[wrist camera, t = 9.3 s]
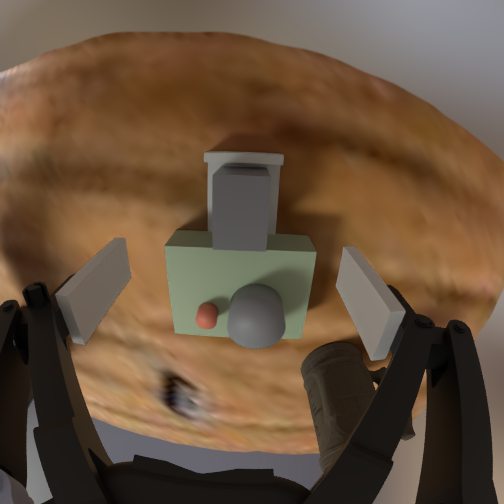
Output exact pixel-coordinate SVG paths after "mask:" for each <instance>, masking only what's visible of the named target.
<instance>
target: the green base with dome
mask: <svg viewBox="0 0 504 504" xmlns="http://www.w3.org/2000/svg"><path fill="white" fill-rule="evenodd" d="M204 162H208V231H194V230H176V231H175V232H174V234H173V235H172V236H171V238H170V239H169V240H168V242H167V243H166V244H165V246H164V247H165V258H166V268H167V277H168V286H169V294H170V302H171V309H172V316H173V323H174V329H175V333H178V334H190V335H202V336H217V337H231V339H232V340H233V341H234V342H235V343H237V344H238V345H240V346H243V347H246V348H250V349H262V348H266V347H269V346H272V345H274V344H275V343H277V342H278V341H279V340H280V339H301V338H302V333H303V328H304V323H305V318H306V312H307V307H308V302H309V296H310V290H311V285H312V279H313V273H314V267H315V260H316V254H317V252H316V250H315V248H314V246H313V244H312V242H311V240H310V238H309V236H308V235H293V234H275V233H276V221H277V207H278V194H279V179H280V165H283V162H284V155H282V154H279V153H263V152H238V151H207V152H204ZM221 166H238V167H263V168H267V169H268V172H269V174H270V176H271V184H270V200H269V216H268V232H267V247H266V252H260V251H234V250H213V240H212V175H213V174H214V173H215V172H216V171H217V170H218V169H219V168H220V167H221Z"/></svg>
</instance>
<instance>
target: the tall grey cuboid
mask: <svg viewBox="0 0 504 504" xmlns="http://www.w3.org/2000/svg"><path fill="white" fill-rule="evenodd" d="M270 184H271V176H270V174H269V172H268V169H267V168H263V167H238V166H221V167H220V168H219V169H218V170H217V171H216V172H215V173H214V174H213V175H212V240H213V250H234V251H260V252H266V247H267V232H268V216H269V200H270Z"/></svg>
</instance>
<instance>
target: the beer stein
mask: <svg viewBox="0 0 504 504" xmlns="http://www.w3.org/2000/svg"><path fill="white" fill-rule="evenodd" d="M385 371H386V367H382V368H380V369H379V370H377V371H370V370H368V369H367V367H366V366H365V364H364V363H363V360H362V354H361V352H360V350H359V349H358V348H357V347H356V346H354V345H353V344H350V343H345V342H338V343H332V344H328V345H325V346H322V347H320V348H318V349H316V350H315V351H313V352H312V353H310V354H309V355H308V356H307V357H306V359H305V360H304V362H303V364H302V367H301V374H302V377H303V379H304V388H305V390H306V391H307V395H308V399H309V404H310V409H311V414H312V418H313V422H314V426H315V431H316V435H317V441H318V446H319V451H320V459H319V464H320V466H321V468H322V471H323V473H324V472H325V471H326V469H327V468H328V467H329V465H330V464H331V462H332V461H333V460H334V458H335V457H336V455H337V454H338V453H339V451H340V450H341V448H342V447H343V445H344V444H345V442H346V441H347V439H348V438H349V436H350V434H351V433H352V431H353V430H354V428H355V426H356V425H357V423H358V422H359V420H360V418H361V416H362V415H363V413H364V411H365V410H366V408H367V406H368V404H369V402H370V401H371V399H372V397H373V395H374V393H375V391H376V390H375V387H374V385H373V382H375V383H376V384H377V385H379V384H380V382H381V380H382V378H383V375H384V373H385ZM413 436H415V432H414V430H413V427H412V412H411V414H410V417H409V419H408V422H407V424H406V427H405V429H404V432H403V434H402V436H401V439H403V440H409V439H411V438H413Z"/></svg>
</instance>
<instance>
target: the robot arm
mask: <svg viewBox="0 0 504 504" xmlns="http://www.w3.org/2000/svg"><path fill="white" fill-rule="evenodd" d="M130 279H131V272H130V266H129V260H128V253H127V246H126V239H125V238H114V239H113V240H112V241H110V242H109V243H108V244H107V245H106V246H105V247H104V248H103V249H101V250H100V251H99V252H98V253H97V254H96V255H95V256H94V257H93V258H92V259H91V260H90V261H88V262H87V263H86V264H85V265H84V266H83V267H82V268H81V269H80V270H79V271H78V272H77V273H75V274H73V275H71V276H70V277H68V278H67V279H66V280H65V281H64V283H62V284H61V285H60V287H58V288H57V289H56V290H55V291H54V292H53V293H52V295H51V296H49V293H48V290H47V287H46V285H45V283H43V282H35V283H32V284H30V285H28V286H27V287H26V288H25V289H24V290H23V292H22V293H23V296H24V299H25V301H26V304H27V306H28V308H20V306H19V304H18V302H17V301H16V300H7V301H5V302H4V303H3V304H2V305H1V306H0V504H34V501H33V500H32V498H30V497H29V496H28V493H27V491H26V485H27V455H26V432H27V411H28V408H29V406H30V404H31V402H32V401H33V399H34V402H35V408H36V414H37V419H38V424H39V427H35V428H34V430H33V432H34V439H35V443H36V447H37V450H38V454H39V458H40V461H41V465H42V468H43V471H44V474H45V477H46V480H47V483H48V486H49V488H50V491H51V493H52V496H53V498H52V499H50V500H48V501H46V502H44V503H42V504H372V503H373V501H374V500H375V498H376V496H377V495H378V493H379V491H380V490H381V488H382V486H383V484H384V482H385V480H386V479H387V477H388V475H389V473H390V471H391V469H392V466H393V461H392V460H391V459H392V456H393V454H394V452H395V450H396V448H397V445H398V443H399V441H400V439H401V436H402V434H403V432H404V429H405V427H406V424H407V422H408V419H409V417H410V414H411V411H412V409H413V406H414V403H415V400H416V397H417V394H418V391H419V388H420V385H421V382H422V378H423V375H424V372H425V369H426V373H427V413H426V431H425V443H424V453H423V461H422V468H421V475H420V482H419V486H418V492H417V497H416V503H415V504H498V500H497V496H496V491H495V487H494V483H493V480H492V477H493V474H492V473H493V455H492V437H491V426H490V416H489V409H488V402H487V396H486V390H485V385H484V380H483V375H482V371H481V367H480V362H479V358H478V355H477V351H476V347H475V344H474V340H473V337H472V333H471V330H470V328H469V327H468V326H467V325H466V324H465V323H463V322H462V321H459V320H450V321H449V323H448V325H447V327H446V328H441V327H435V324H434V323H433V321H432V320H431V319H430V318H428V317H426V316H424V315H420V314H416V313H415V312H414V310H413V309H412V308H411V307H410V305H409V304H408V303H407V301H406V300H405V299H404V297H402V295H401V294H400V292H399V291H398V290H397V289H395V288H394V287H392V286H391V285H386V284H385V283H384V281H383V280H382V279H381V278H380V276H379V275H378V274H377V273H376V271H375V270H374V269H373V268H372V266H371V265H370V264H369V263H368V261H367V260H366V259H365V258H364V257H363V255H362V254H361V253H360V252H359V250H358V249H357V248H356V247H352V246H344V247H343V253H342V258H341V263H340V268H339V273H338V278H337V283H336V288H337V290H338V292H339V294H340V296H341V298H342V300H343V302H344V304H345V306H346V308H347V310H348V312H349V314H350V316H351V318H352V320H353V322H354V325H355V327H356V329H357V331H358V333H359V335H360V337H361V340H362V342H363V344H364V346H365V348H366V351H367V353H368V355H369V357H370V360H371V361H374V360H383V359H386V357H387V354H388V352H389V350H390V351H391V353H392V354H393V357H392V359H391V361H390V363H389V365H388V367H387V369H386V371H385V373H384V375H383V378H382V380H381V382H380V384H379V385H378V387H377V389H376V391H375V393H374V395H373V397H372V399H371V401H370V402H369V404H368V406H367V408H366V410H365V411H364V413H363V415H362V416H361V418H360V420H359V422H358V423H357V425H356V426H355V428H354V430H353V431H352V433H351V434H350V436H349V438H348V439H347V441H346V442H345V444H344V445H343V447H342V448H341V450H340V451H339V453H338V454H337V455H336V457H335V458H334V460H333V461H332V462H331V464H330V465H329V467H328V468H327V469H326V471H325V472H324V473H323V474H322V476H321V477H320V478H319V479H318V481H317V482H316V483H315V484H314V485H313V487H312V488H311V489H310V490H308V489H307V488H305V487H304V486H302V485H300V484H298V483H296V482H294V481H291V480H289V479H285V478H281V477H277V476H274V473H273V469H234V470H227V471H221V472H213V473H205V474H201V473H196V472H193V471H191V470H188V469H185V468H182V467H180V466H177V465H175V464H172V463H169V462H167V461H163V460H157V459H153V458H148V457H143V456H139V455H134V459H133V461H131V462H121V463H116V464H113V462H112V461H111V459H110V458H109V457H108V455H107V453H106V451H105V449H104V447H103V445H102V443H101V440H100V438H99V436H98V434H97V431H96V429H95V426H94V424H93V422H92V419H91V417H90V414H89V411H88V409H87V406H86V403H85V400H84V397H83V395H82V392H81V389H80V385H79V382H78V379H77V376H76V372H75V369H74V365H73V362H72V358H71V354H70V350H69V346H68V343H67V340H66V337H67V336H68V334H70V336H71V339H72V341H73V343H77V344H81V345H86V344H87V342H88V340H89V339H90V337H91V336H92V334H93V333H94V331H95V329H96V328H97V326H98V325H99V323H100V322H101V320H102V319H103V317H104V316H105V314H106V313H107V312H108V310H109V309H110V307H111V306H112V304H113V303H114V301H115V300H116V299H117V297H118V296H119V294H120V293H121V291H122V290H123V289H124V287H125V286H126V284H127V283H128V282H129V280H130Z"/></svg>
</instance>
